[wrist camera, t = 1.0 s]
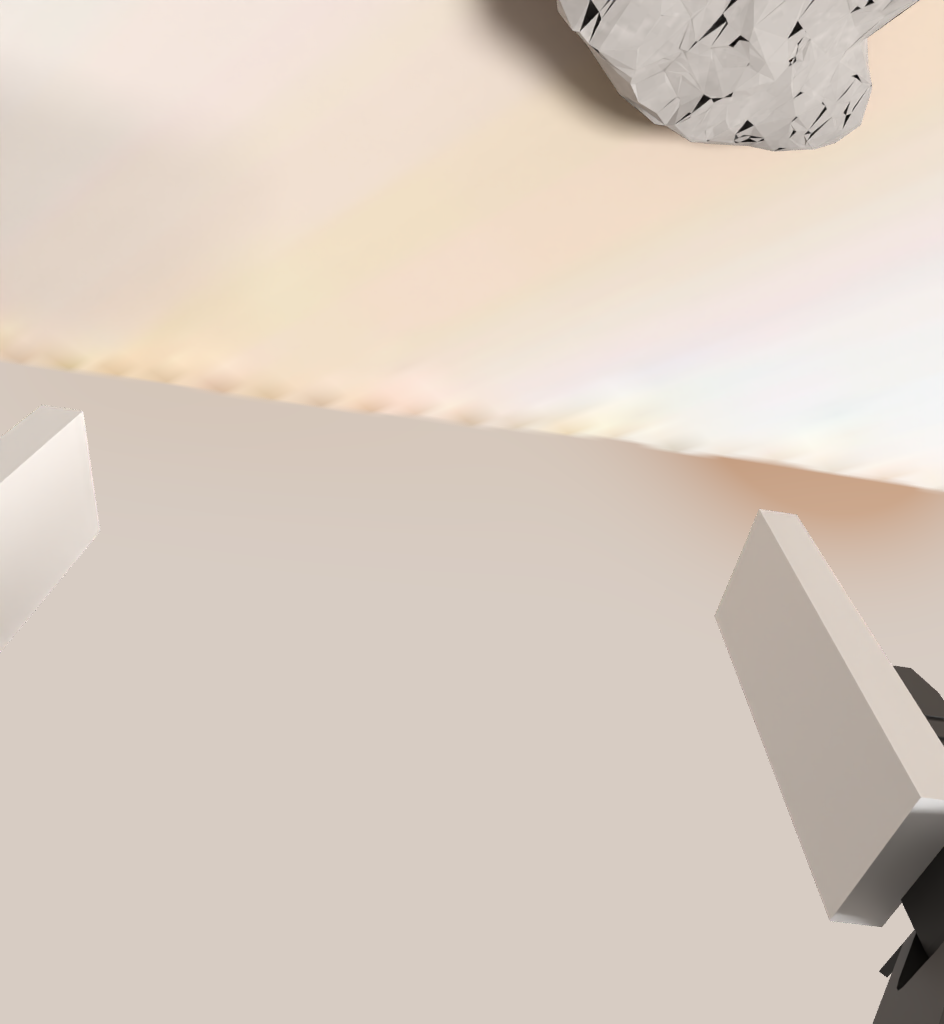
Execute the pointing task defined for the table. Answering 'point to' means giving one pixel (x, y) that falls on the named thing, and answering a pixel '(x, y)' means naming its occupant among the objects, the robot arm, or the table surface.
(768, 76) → the stone
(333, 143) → the table surface
